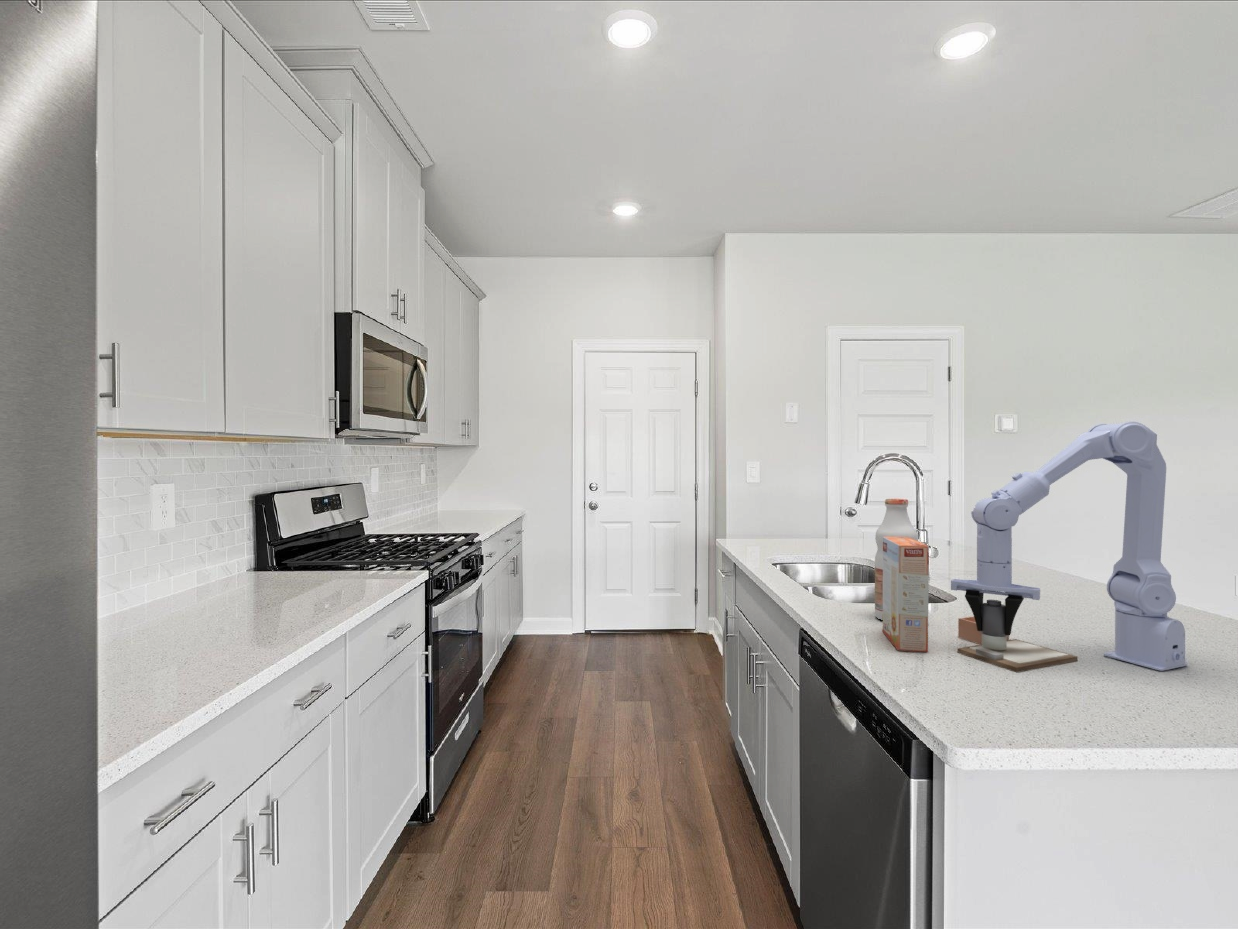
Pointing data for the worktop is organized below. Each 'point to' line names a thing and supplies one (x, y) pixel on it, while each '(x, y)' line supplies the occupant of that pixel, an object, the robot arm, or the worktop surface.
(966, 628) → the terracotta open box
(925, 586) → the cracker box
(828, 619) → the worktop surface
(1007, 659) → the clipboard
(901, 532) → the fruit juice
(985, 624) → the grey lidded canister
